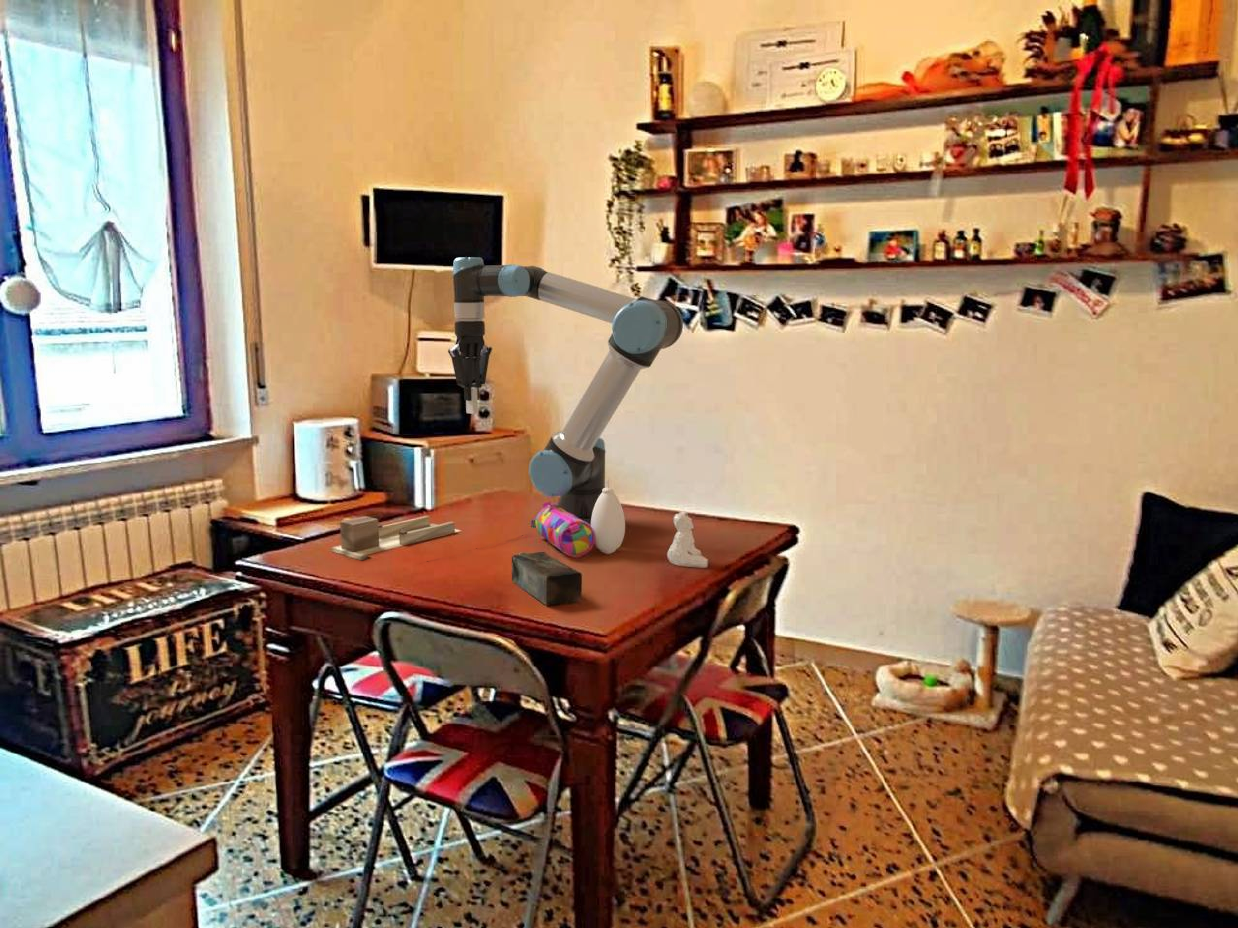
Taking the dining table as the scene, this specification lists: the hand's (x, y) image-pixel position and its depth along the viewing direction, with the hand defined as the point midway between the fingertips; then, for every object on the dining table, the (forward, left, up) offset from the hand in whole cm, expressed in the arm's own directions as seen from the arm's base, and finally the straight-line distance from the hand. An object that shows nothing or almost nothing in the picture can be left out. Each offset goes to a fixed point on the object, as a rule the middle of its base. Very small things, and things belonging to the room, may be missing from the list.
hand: (472, 413), depth 243 cm
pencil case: (-32, +1, -30) cm, 44 cm away
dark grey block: (-53, +28, -30) cm, 67 cm away
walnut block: (+1, +35, -28) cm, 45 cm away
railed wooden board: (0, +24, -29) cm, 38 cm away
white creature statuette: (-63, -7, -30) cm, 70 cm away
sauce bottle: (-44, -2, -30) cm, 53 cm away
